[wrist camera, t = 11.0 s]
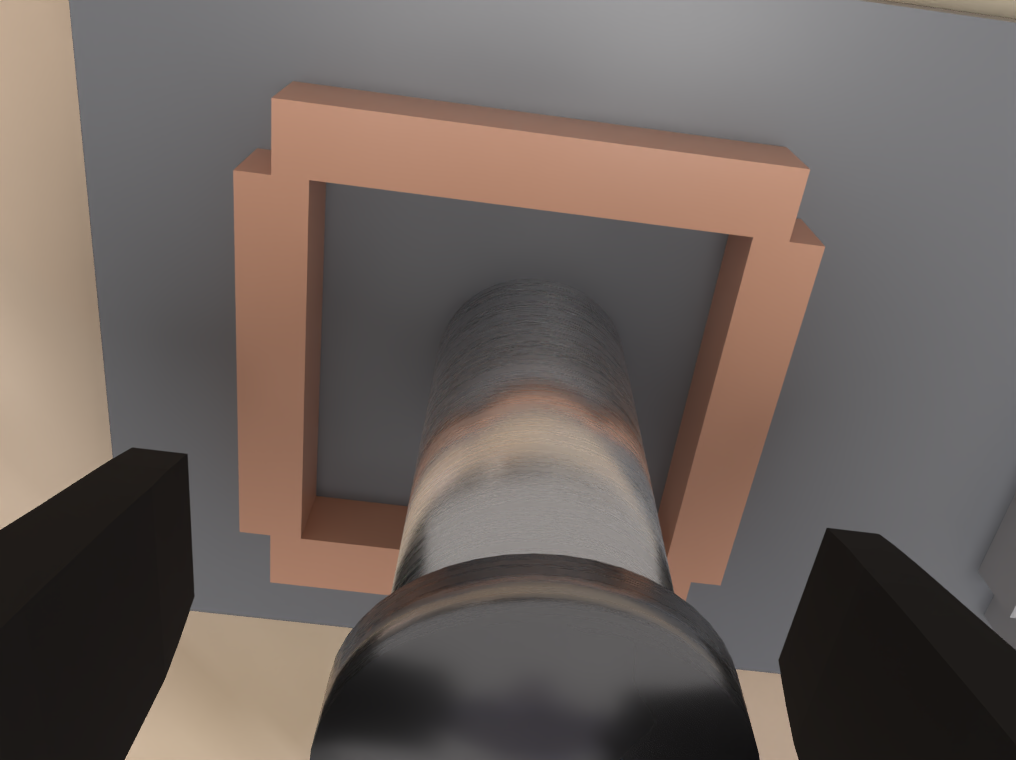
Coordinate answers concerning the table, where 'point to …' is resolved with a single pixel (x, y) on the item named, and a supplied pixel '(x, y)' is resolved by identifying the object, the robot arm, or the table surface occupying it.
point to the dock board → (564, 271)
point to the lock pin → (532, 568)
